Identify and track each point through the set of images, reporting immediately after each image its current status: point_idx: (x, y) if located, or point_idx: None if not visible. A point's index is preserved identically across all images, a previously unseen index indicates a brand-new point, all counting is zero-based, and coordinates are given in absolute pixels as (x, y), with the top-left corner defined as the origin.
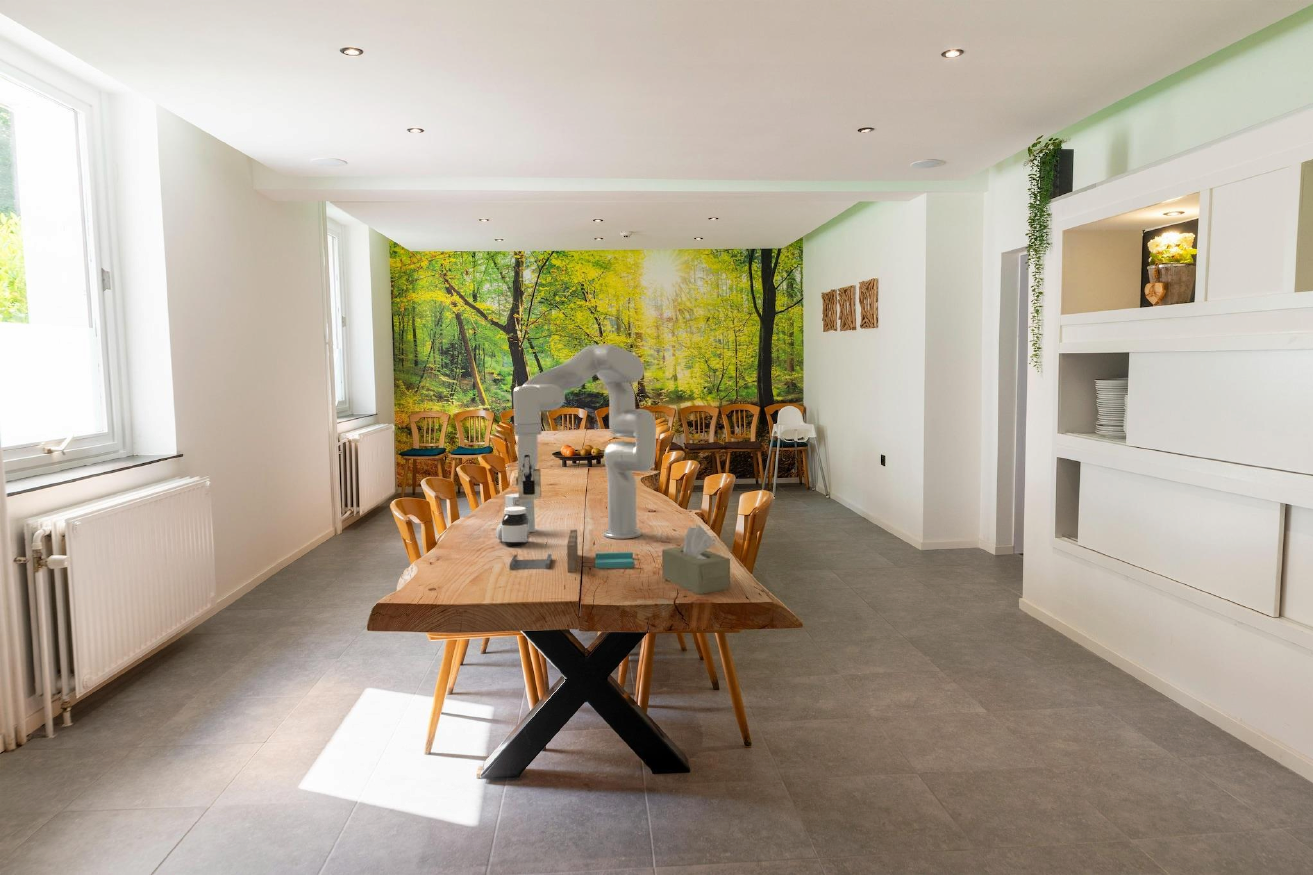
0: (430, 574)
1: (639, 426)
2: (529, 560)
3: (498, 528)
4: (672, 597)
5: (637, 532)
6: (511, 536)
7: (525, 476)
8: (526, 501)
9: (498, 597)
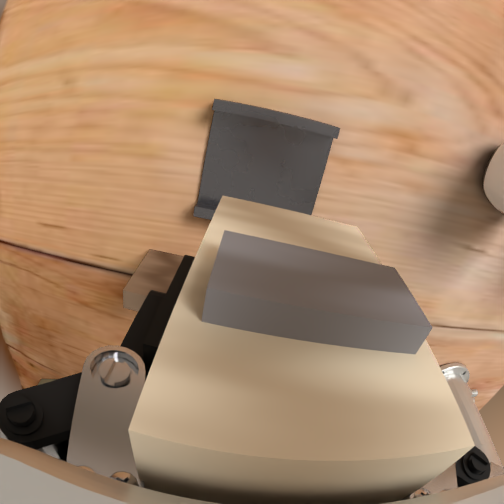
0: None
1: None
2: (312, 170)
3: None
4: (24, 352)
5: None
6: (498, 165)
7: (24, 396)
8: None
9: (10, 91)
